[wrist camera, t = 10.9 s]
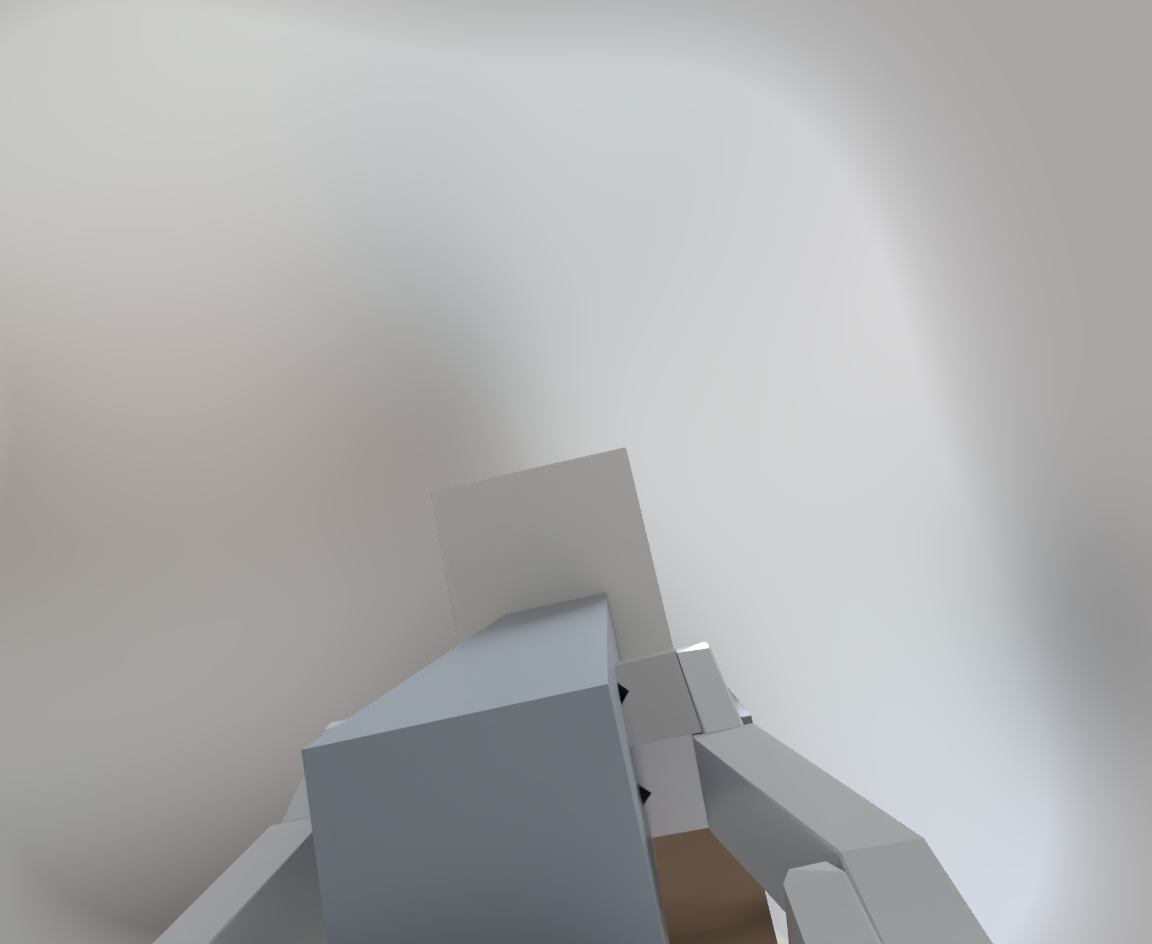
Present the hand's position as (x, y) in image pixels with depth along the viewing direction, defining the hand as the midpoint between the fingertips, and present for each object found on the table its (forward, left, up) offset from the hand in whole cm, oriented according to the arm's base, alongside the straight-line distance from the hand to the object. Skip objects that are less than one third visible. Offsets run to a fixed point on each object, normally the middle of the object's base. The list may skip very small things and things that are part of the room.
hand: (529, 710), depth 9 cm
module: (+5, -1, -2) cm, 5 cm away
